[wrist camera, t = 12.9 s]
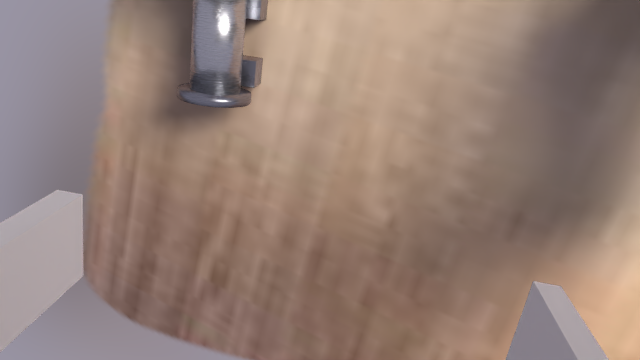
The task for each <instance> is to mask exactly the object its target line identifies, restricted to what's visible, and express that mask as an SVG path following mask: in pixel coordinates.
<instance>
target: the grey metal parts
mask: <svg viewBox="0 0 640 360" xmlns="http://www.w3.org/2000/svg"><path fill="white" fill-rule="evenodd" d="M267 4H268V0H193V13H192V39H191V64H190V83H185V84H181V85H179V86H178V93H177V97H178V98H179V99H180V100H183V101H185V102H188V103H192V104H196V105H202V106H209V107H223V108H233V107H243V106H247V105H249V104H250V103H251V92H250V91H248V90H246V89H243V88H241V86H246V87H253V88H254V87H256V86H257V85H259V84H260V83H261V72H262V61H263V58H258V57H251V56H244V55H243V47H244V34H245V20H246V18H248V19H256V20H264V19H266V15H267Z"/></svg>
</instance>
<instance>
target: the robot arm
mask: <svg viewBox="0 0 640 360" xmlns="http://www.w3.org/2000/svg"><path fill="white" fill-rule="evenodd" d="M81 277H83V195H82V194H77V193H72V192H66V191H61V190H56V191H54V192H53V193H51V194H49V195H48V196H46V197H44V198H43V199H41V200H39V201H37V202H35V203H34V204H32V205H30V206H29V207H27V208H25V209H23V210H22V211H20V212H18V213H16V214H15V215H13V216H12V217H10V218H8V219H6V220H4V221H3V222H1V223H0V352H1V351H2V350H3V349H4V348H6V347H7V346H8V345H9V344H10V343H11V342H12V341H13V340H14V339H15V338H16V337H17V336H19V335H20V334H21V333H22V332H23V331H24V330H25V329H26V328H27V327H28V326H29V325H30V324H31V323H33V322H34V321H35V320H36V319H37V318H38V317H39V316H40V315H41V314H42V313H43V312H44V311H46V310H47V309H48V308H49V307H50V306H51V305H52V304H53V303H54V302H55V301H57V300H58V299H59V298H60V297H61V296H62V295H63V294H64V293H65V292H66V291H67V290H68V289H69V288H70V287H71V286H73V285H74V284H75V283H76V282H77V281H78V280H79V279H80V278H81ZM506 360H609V359H608V358H607V356H606V355H605V353H604V352H603V350H602V349H601V347H600V345H599V344H598V342H597V341H596V339H595V338H594V336H593V335H592V333H591V332H590V330H589V329H588V327H587V326H586V324H585V322H584V321H583V319H582V318H581V316H580V315H579V313H578V312H577V310H576V309H575V307H574V306H573V304H572V303H571V301H570V299H569V298H568V296H567V295H566V293H565V292H564V290H563V289H562V287H561V286H557V285H552V284H546V283H541V282H536V281H533V283H532V286H531V289H530V292H529V295H528V298H527V300H526V303H525V306H524V309H523V312H522V315H521V317H520V320H519V323H518V326H517V329H516V332H515V334H514V337H513V340H512V343H511V346H510V349H509V352H508V354H507V357H506Z"/></svg>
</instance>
